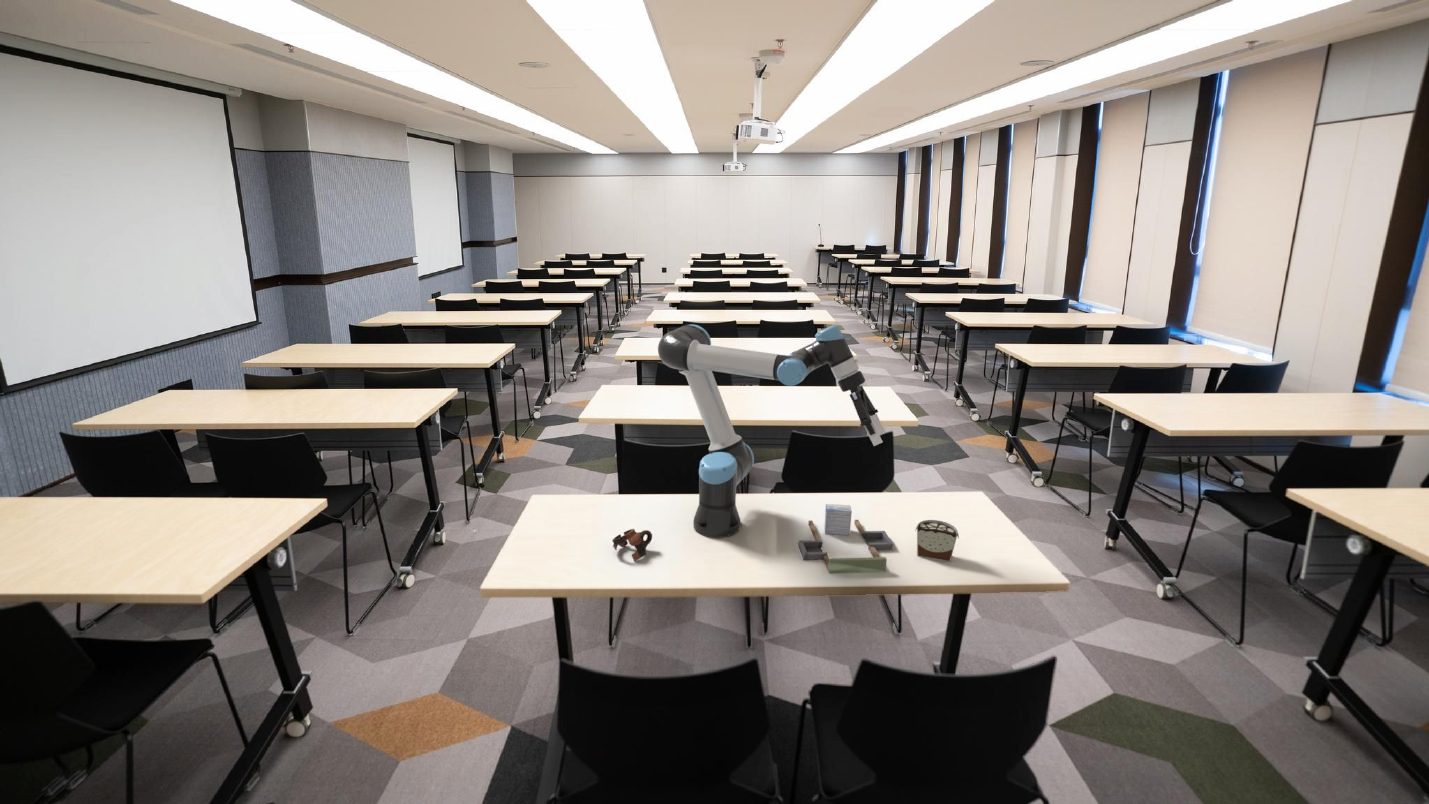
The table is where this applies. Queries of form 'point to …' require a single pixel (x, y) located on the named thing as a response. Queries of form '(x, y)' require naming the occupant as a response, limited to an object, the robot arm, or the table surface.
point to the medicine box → (837, 519)
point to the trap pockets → (814, 552)
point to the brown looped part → (634, 542)
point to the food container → (936, 539)
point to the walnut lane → (852, 564)
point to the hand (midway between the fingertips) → (880, 439)
